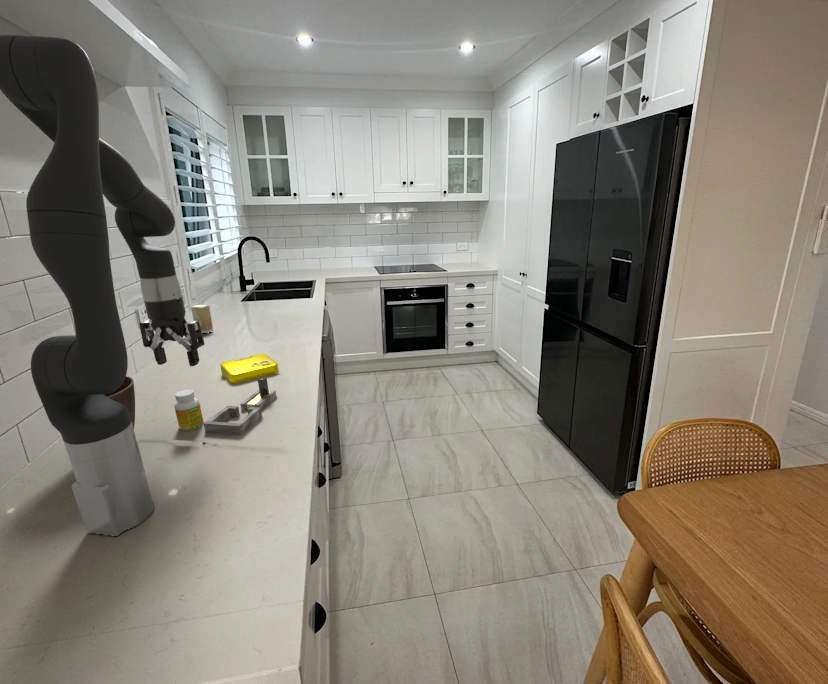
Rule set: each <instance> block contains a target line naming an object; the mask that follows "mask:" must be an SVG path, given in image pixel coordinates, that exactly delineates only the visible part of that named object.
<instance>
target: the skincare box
mask: <svg viewBox="0 0 828 684" xmlns="http://www.w3.org/2000/svg"><path fill="white" fill-rule="evenodd" d="M190 309H191V313H192V319H193V322H194V321H198V322H199V324H200V328H201V332H202V333H208V332H211V331H213V332H214V328H213V327H214V326H213V321H212V313H211V309H210V305H208V304H195V305H192V306H191V308H190ZM211 333H212V332H211ZM208 334H209V333H208Z"/></svg>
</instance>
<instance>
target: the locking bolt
mask: <svg viewBox="0 0 828 684" xmlns="http://www.w3.org/2000/svg"><path fill="white" fill-rule="evenodd" d="M268 383H269V382H268V378H267V376H264V377H260V378H257V385H258V390H259V392H260V394H258V395H257V396H256V397H255V398H253V399H252V400H251V401H250V402H248V403H247V404H246V405H247V409H248V408H249V407H255V404H256V403H258V402H259V401H260V400H261V399H262V398H264V397H265V396H266V395H267V394H269V393H270V392H271V391H270V390H269V384H268ZM247 409H246V410H247Z"/></svg>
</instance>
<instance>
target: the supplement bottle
mask: <svg viewBox="0 0 828 684" xmlns="http://www.w3.org/2000/svg"><path fill="white" fill-rule="evenodd" d="M194 391H195V390H193V389H183V390H180V391H178V392H175V394H174V397H175V401H176V402H175V403H174V405H173V407H174V411H175V416H176V420H177V424H178V428H179V430H180V431H183V432H188V431H194V430H196V429H199V428H200V427H202V426H204V424H203V423H205V422H204V418H203V414H202V409H201V404H200V400H199V399H198V398H196V397H195V392H194Z"/></svg>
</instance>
